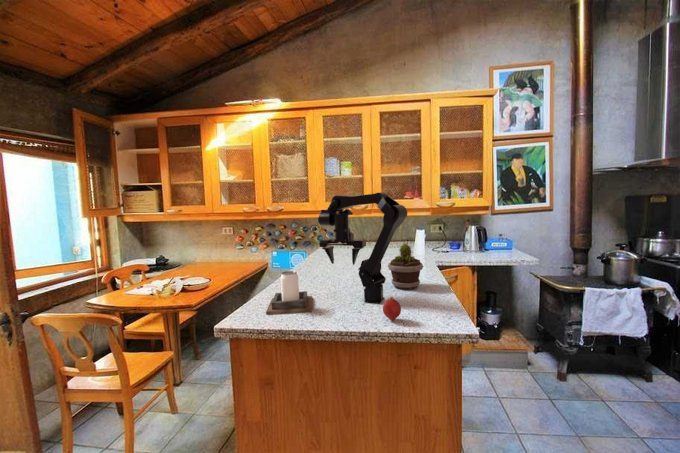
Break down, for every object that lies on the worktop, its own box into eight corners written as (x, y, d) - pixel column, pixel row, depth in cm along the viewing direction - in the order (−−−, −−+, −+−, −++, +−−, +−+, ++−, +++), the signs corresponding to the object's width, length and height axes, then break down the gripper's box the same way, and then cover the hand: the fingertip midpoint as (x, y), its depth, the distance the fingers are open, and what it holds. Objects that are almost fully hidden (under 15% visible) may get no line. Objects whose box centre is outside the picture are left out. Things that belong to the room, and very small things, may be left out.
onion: (381, 317, 109) (380, 294, 109) (398, 316, 110) (397, 293, 109) (385, 324, 104) (384, 299, 103) (403, 323, 104) (402, 298, 103)
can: (291, 307, 120) (289, 275, 119) (278, 305, 123) (276, 273, 122) (303, 302, 125) (301, 271, 124) (290, 300, 129) (288, 270, 128)
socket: (312, 298, 134) (311, 289, 134) (311, 311, 118) (311, 302, 118) (272, 300, 133) (271, 292, 132) (266, 314, 117) (265, 304, 117)
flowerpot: (421, 292, 135) (420, 244, 134) (385, 290, 141) (383, 244, 139) (425, 283, 149) (424, 239, 147) (391, 281, 154) (390, 239, 152)
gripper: (369, 224, 138) (370, 261, 139) (328, 224, 145) (330, 259, 146) (361, 226, 128) (362, 266, 129) (317, 227, 134) (319, 264, 136)
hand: (343, 264), depth 135 cm, fingers open, 9 cm apart
